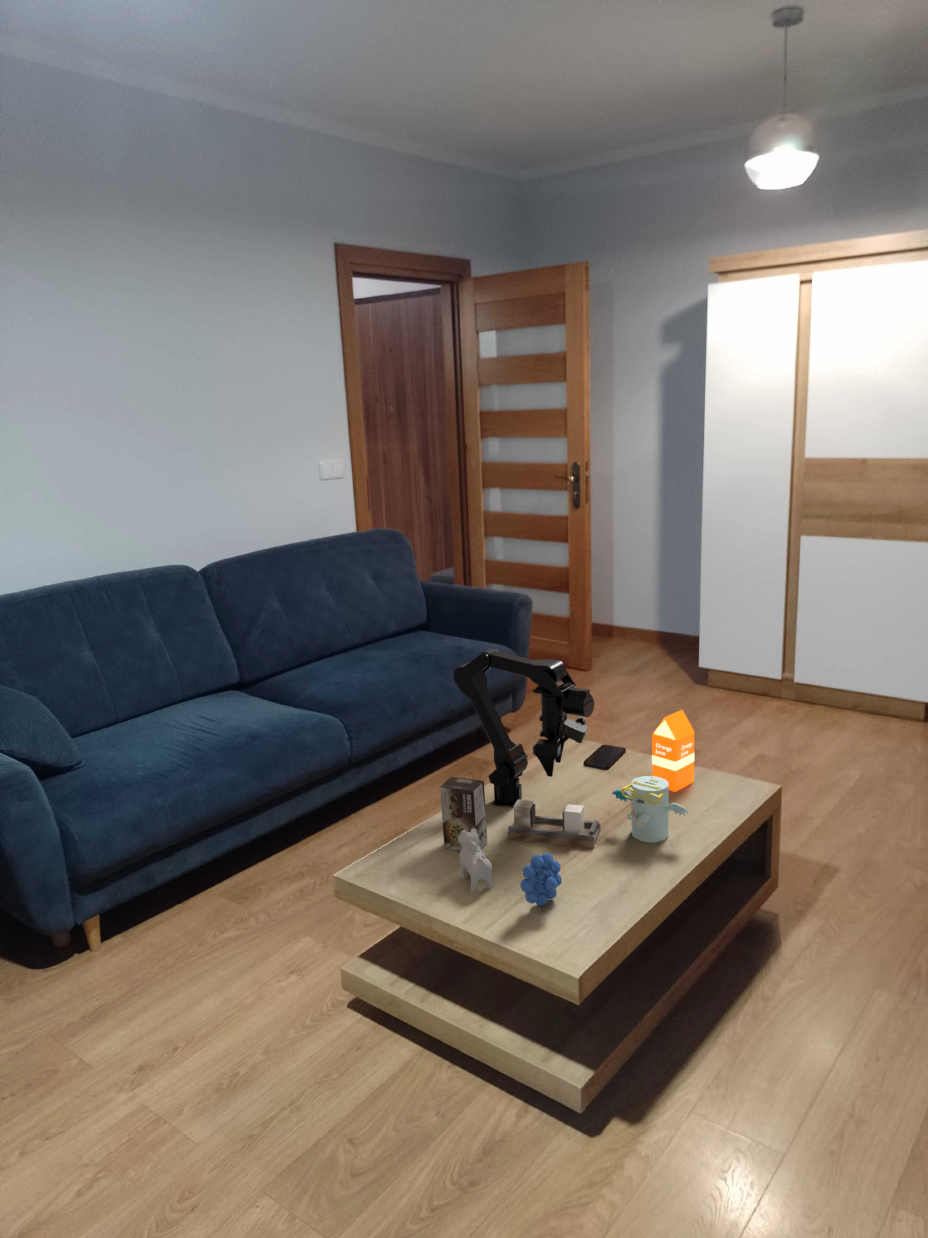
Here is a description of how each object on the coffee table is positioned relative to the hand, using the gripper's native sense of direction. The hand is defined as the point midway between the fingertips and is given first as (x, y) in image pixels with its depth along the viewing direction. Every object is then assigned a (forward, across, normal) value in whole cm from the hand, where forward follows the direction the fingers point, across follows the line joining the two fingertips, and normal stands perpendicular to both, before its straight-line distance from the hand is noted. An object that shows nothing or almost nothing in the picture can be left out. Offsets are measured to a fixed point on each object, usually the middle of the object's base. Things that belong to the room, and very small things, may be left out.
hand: (554, 769), depth 232 cm
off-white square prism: (+10, -12, -8) cm, 18 cm away
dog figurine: (+12, -37, +10) cm, 40 cm away
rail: (+12, -12, -2) cm, 17 cm away
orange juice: (+12, +25, -27) cm, 39 cm away
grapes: (+12, -44, -8) cm, 46 cm away
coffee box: (+12, -22, +17) cm, 30 cm away
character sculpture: (+12, -8, -24) cm, 28 cm away
